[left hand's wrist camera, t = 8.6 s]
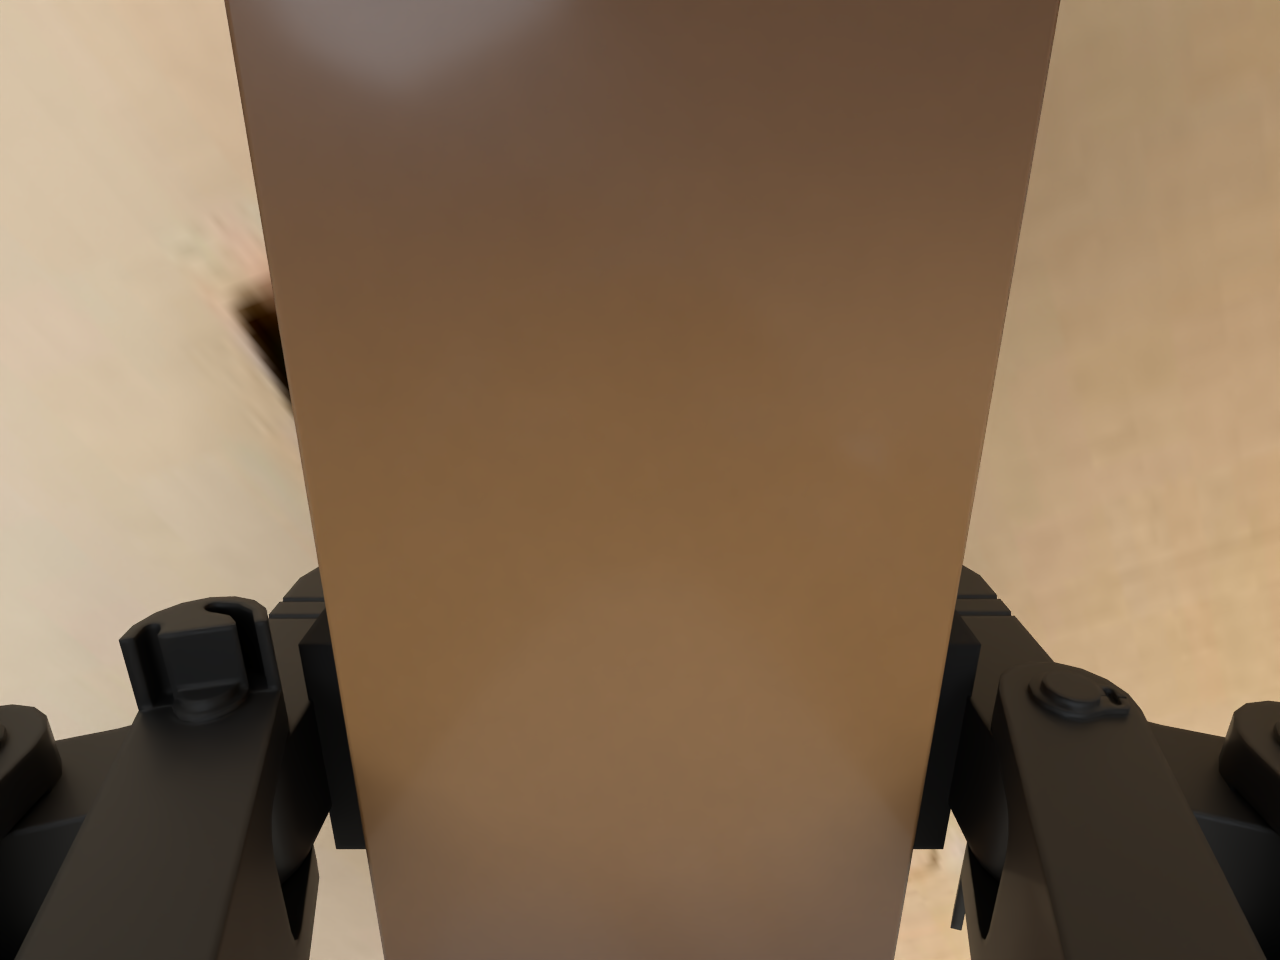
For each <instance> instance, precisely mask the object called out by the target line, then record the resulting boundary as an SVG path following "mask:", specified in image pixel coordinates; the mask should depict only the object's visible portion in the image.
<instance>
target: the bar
mask: <svg viewBox="0 0 1280 960" xmlns="http://www.w3.org/2000/svg"><path fill="white" fill-rule="evenodd" d="M224 1H225V7H226V13H227V19H228V25H229V31H230V37H231V43H232V49H233V55H234V61H235V67H236V73H237V79H238V85H239V91H240V97H241V103H242V109H243V115H244V121H245V127H246V133H247V139H248V145H249V151H250V156H251V162H252V168H253V174H254V180H255V186H256V192H257V198H258V204H259V210H260V216H261V222H262V228H263V234H264V240H265V246H266V252H267V258H268V264H269V270H270V276H271V282H272V288H273V294H274V300H275V306H276V312H277V318H278V324H279V330H280V336H281V342H282V348H283V354H284V360H285V366H286V372H287V378H288V384H289V390H290V396H291V402H292V408H293V414H294V420H295V426H296V432H297V438H298V444H299V450H300V456H301V462H302V468H303V474H304V480H305V486H306V492H307V498H308V504H309V510H310V516H311V522H312V528H313V534H314V540H315V546H316V552H317V558H318V564H319V570H320V576H321V582H322V588H323V594H324V600H325V606H326V612H327V618H328V624H329V630H330V636H331V642H332V648H333V654H334V660H335V666H336V672H337V678H338V684H339V690H340V696H341V702H342V708H343V714H344V720H345V726H346V732H347V738H348V744H349V750H350V756H351V762H352V768H353V774H354V780H355V786H356V792H357V798H358V804H359V810H360V816H361V822H362V828H363V834H364V840H365V846H366V852H367V858H368V864H369V870H370V876H371V882H372V888H373V894H374V900H375V906H376V912H377V918H378V924H379V930H380V936H381V942H382V948H383V954H384V960H894V956H895V950H896V944H897V939H898V933H899V927H900V921H901V916H902V910H903V904H904V898H905V893H906V887H907V881H908V875H909V870H910V864H911V858H912V852H913V846H914V841H915V835H916V829H917V823H918V818H919V812H920V806H921V800H922V795H923V789H924V783H925V777H926V772H927V766H928V760H929V754H930V748H931V743H932V737H933V731H934V725H935V720H936V714H937V708H938V702H939V697H940V691H941V685H942V679H943V674H944V668H945V662H946V656H947V650H948V645H949V639H950V633H951V627H952V622H953V616H954V610H955V604H956V599H957V593H958V587H959V581H960V575H961V570H962V564H963V558H964V552H965V547H966V541H967V535H968V529H969V524H970V518H971V512H972V506H973V501H974V495H975V489H976V483H977V477H978V472H979V466H980V460H981V454H982V449H983V443H984V437H985V431H986V426H987V420H988V414H989V408H990V403H991V397H992V391H993V385H994V379H995V374H996V368H997V362H998V356H999V351H1000V345H1001V339H1002V333H1003V328H1004V322H1005V316H1006V310H1007V305H1008V299H1009V293H1010V287H1011V281H1012V276H1013V270H1014V264H1015V258H1016V253H1017V247H1018V241H1019V235H1020V230H1021V224H1022V218H1023V212H1024V207H1025V201H1026V195H1027V189H1028V183H1029V178H1030V172H1031V166H1032V160H1033V155H1034V149H1035V143H1036V137H1037V132H1038V126H1039V120H1040V114H1041V109H1042V103H1043V97H1044V91H1045V85H1046V80H1047V74H1048V68H1049V62H1050V57H1051V51H1052V45H1053V39H1054V34H1055V28H1056V22H1057V16H1058V11H1059V5H1060V0H224Z"/></svg>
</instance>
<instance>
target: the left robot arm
mask: <svg viewBox="0 0 1280 960" xmlns="http://www.w3.org/2000/svg"><path fill="white" fill-rule="evenodd" d="M119 642H120V646H121V650H122V653H123V657H124V660H125V664H126V667H127V671H128V674H129V678H130V681H131V685H132V688H133V692H134V695H135V699H136V702H137V706H138V709H139V711H138V713H137V715H136V717H135V719H134V721H133V723H132V725H130V726H127V727H123V728H119V729H114V730H109V731H103V732H98V733H93V734H88V735H83V736H78V737H73V738H68V739H63V740H58V741H55V740H54V737H53V734H52V731H51V728H50V725H49V722H48V719H47V716H46V715H45V714H43V713H42V712H41V711H39V710H38V709H36V708H35V707H29V706H21V705H4V706H0V960H309V957H310V948H311V940H312V932H313V924H314V916H315V908H316V900H317V892H318V884H319V872H318V866H317V860H316V855H315V850H314V845H313V843H314V841H315V839H316V837H317V835H318V833H319V831H320V829H321V827H322V825H323V823H324V821H325V819H326V817H327V815H328V813H330V818H331V824H332V829H333V834H334V840H335V845H336V849H366V846H365V840H364V834H363V828H362V822H361V816H360V810H359V804H358V798H357V792H356V786H355V780H354V774H353V768H352V762H351V756H350V750H349V744H348V738H347V732H346V726H345V720H344V714H343V708H342V702H341V696H340V690H339V684H338V678H337V672H336V666H335V660H334V654H333V648H332V642H331V636H330V630H329V624H328V618H327V612H326V606H325V600H324V594H323V588H322V582H321V576H320V570H319V567H318V568H316V569H314V570H313V571H311V572H309V573H308V574H306V575H304V576H303V577H301V578H300V579H299V580H298V581H297V582H296V583H295V584H294V586H293V587H292V588H291V589H290V590H289V592H288V593H287V594H286V595H285V596H284V597H283V602H279V603H278V605H277V606H276V607H275V608H274V609H273V610H272V612H271V613H270V614H269V619H268V615H267V610H266V608H265V607H263V606H262V605H261V604H259V603H258V602H256V601H255V600H251V599H246V598H241V597H235V596H234V597H209V598H205V599H200V600H195V601H190V602H185V603H181V604H178V605H175V606H173V607H170V608H167V609H164V610H162V611H159V612H156V613H154V614H152V615H151V616H149V617H147V618H145V619H144V620H142V621H140V622H138V623H137V624H135V625H133V626H132V627H131V628H130V629H129V630H128V631H127V632H126V633H125V634H124V635H123V636H122V637H121V638H120V639H119ZM950 810H952V812H953V814H954V816H955V818H956V820H957V822H958V824H959V826H960V828H961V830H962V832H963V834H964V836H965V838H966V840H967V845H966V850H965V855H964V860H963V865H962V870H961V875H960V880H959V885H958V889H957V894H956V899H955V904H954V909H953V916H952V922H951V928H953V929H957V930H962V925H963V920H964V915H965V914H966V922H967V930H968V938H969V946H970V954H971V960H1280V702H1274V701H1262V702H1254V703H1246V704H1245V705H1243V706H1242V707H1240V708H1239V709H1238V710H1236V711H1235V712H1234V714H1233V717H1232V720H1231V723H1230V726H1229V729H1228V732H1227V735H1226V738H1225V737H1220V736H1215V735H1210V734H1205V733H1200V732H1194V731H1189V730H1184V729H1179V728H1174V727H1169V726H1164V725H1159V724H1155V723H1151V722H1147V720H1146V718H1145V716H1144V714H1143V712H1142V710H1141V709H1140V708H1139V706H1138V705H1137V704H1136V703H1135V701H1134V700H1133V699H1132V698H1131V697H1130V695H1129V694H1128V693H1126V692H1125V691H1123V690H1122V689H1120V688H1119V687H1117V686H1116V685H1114V684H1113V683H1112V682H1110V681H1109V680H1107V679H1105V678H1102V677H1100V676H1098V675H1095V674H1093V673H1091V672H1088V671H1086V670H1084V669H1081V668H1077V667H1072V666H1068V665H1064V664H1060V663H1055V662H1054V661H1053V660H1052V659H1051V658H1050V657H1049V656H1048V654H1047V653H1046V652H1045V651H1044V650H1043V649H1042V647H1041V646H1040V645H1039V644H1038V643H1037V642H1036V640H1035V639H1034V638H1033V637H1032V636H1031V634H1030V633H1029V632H1028V631H1027V630H1026V629H1025V627H1024V626H1023V625H1022V624H1021V623H1020V622H1019V620H1018V619H1017V618H1016V617H1015V616H1011V611H1010V610H1009V609H1008V608H1007V606H1006V605H1005V604H1004V603H1003V602H1002V601H1001V599H997V595H996V594H995V592H994V591H993V590H992V589H991V588H990V587H989V585H988V584H987V583H986V582H985V581H984V580H983V578H982V577H981V576H980V575H979V574H977V573H975V572H973V571H972V570H970V569H968V568H967V567H965V566H963V565H962V570H961V575H960V581H959V587H958V593H957V599H956V604H955V610H954V616H953V622H952V627H951V633H950V639H949V645H948V650H947V656H946V662H945V668H944V674H943V679H942V685H941V691H940V697H939V702H938V708H937V714H936V720H935V725H934V731H933V737H932V743H931V748H930V754H929V760H928V766H927V772H926V777H925V783H924V789H923V795H922V800H921V806H920V812H919V818H918V823H917V829H916V835H915V841H914V846H913V849H943V847H944V842H945V837H946V831H947V826H948V821H949V815H950Z"/></svg>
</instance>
